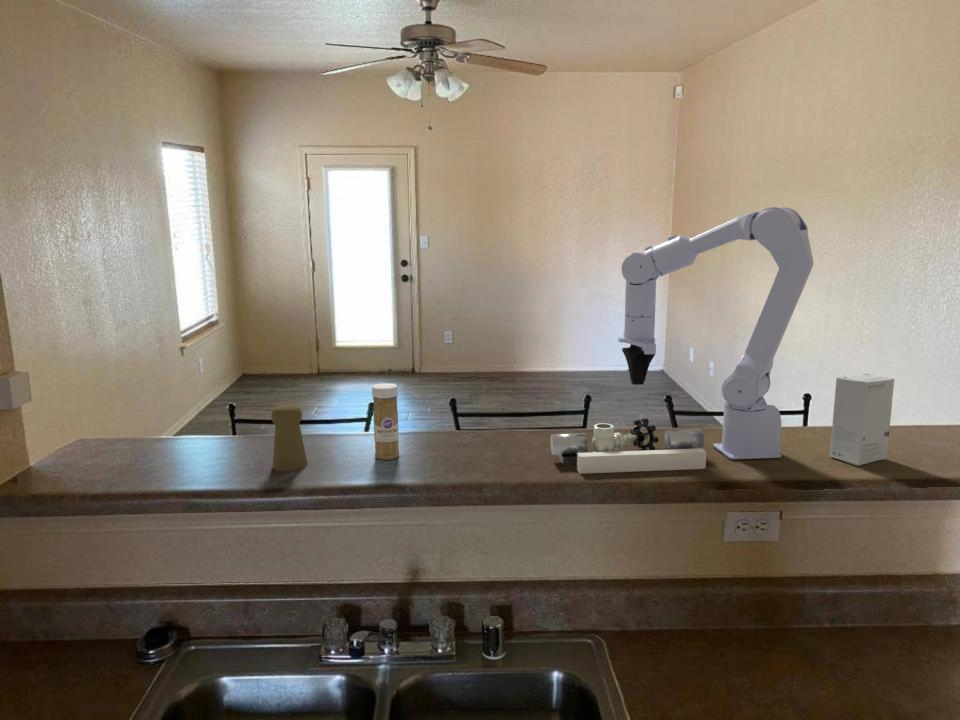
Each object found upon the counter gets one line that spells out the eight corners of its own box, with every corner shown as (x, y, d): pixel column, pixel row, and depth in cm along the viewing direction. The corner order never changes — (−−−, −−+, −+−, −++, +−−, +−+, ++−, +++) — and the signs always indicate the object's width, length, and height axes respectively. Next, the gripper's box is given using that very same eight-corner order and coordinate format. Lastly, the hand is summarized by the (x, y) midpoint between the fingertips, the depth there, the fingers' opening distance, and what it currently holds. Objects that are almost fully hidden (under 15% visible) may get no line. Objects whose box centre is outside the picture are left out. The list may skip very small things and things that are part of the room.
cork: (313, 461, 125) (310, 402, 123) (296, 472, 120) (292, 411, 118) (284, 458, 127) (280, 400, 125) (265, 469, 121) (261, 409, 119)
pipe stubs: (694, 452, 128) (696, 426, 127) (704, 460, 124) (705, 433, 123) (549, 457, 126) (550, 430, 125) (554, 465, 122) (554, 438, 121)
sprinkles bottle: (380, 462, 124) (377, 389, 122) (371, 455, 128) (367, 384, 126) (404, 457, 127) (401, 386, 124) (393, 451, 131) (391, 381, 128)
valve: (605, 469, 120) (658, 457, 126) (606, 432, 119) (659, 422, 125) (582, 458, 126) (633, 447, 132) (583, 423, 125) (635, 413, 130)
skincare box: (858, 467, 120) (866, 383, 117) (827, 457, 125) (834, 376, 122) (888, 459, 123) (897, 377, 121) (856, 449, 129) (864, 371, 126)
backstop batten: (700, 464, 121) (701, 448, 121) (705, 468, 119) (706, 452, 119) (576, 469, 120) (577, 452, 119) (579, 473, 118) (579, 456, 117)
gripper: (609, 311, 141) (608, 376, 144) (630, 321, 127) (628, 393, 130) (643, 310, 142) (641, 375, 144) (668, 320, 128) (665, 392, 130)
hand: (637, 383), depth 137 cm, fingers closed
